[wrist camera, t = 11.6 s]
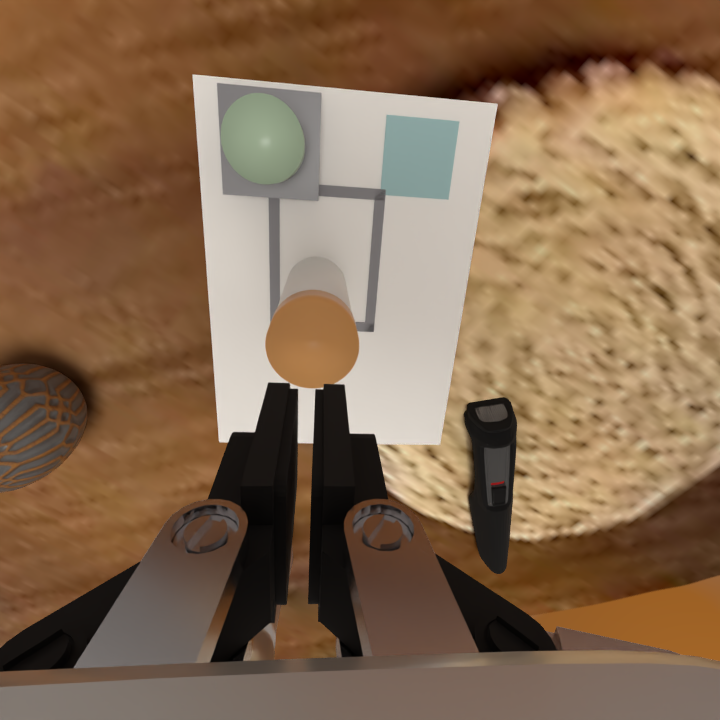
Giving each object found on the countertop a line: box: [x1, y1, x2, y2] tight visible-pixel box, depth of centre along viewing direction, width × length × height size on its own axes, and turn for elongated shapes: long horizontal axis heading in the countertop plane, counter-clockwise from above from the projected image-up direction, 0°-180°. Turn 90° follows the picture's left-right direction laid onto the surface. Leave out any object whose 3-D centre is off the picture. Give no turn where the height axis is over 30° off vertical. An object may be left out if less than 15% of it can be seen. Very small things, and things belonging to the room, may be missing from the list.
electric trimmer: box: [464, 397, 517, 574], centre depth 33 cm, size 4×15×3 cm, turn 7°
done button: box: [221, 93, 305, 184], centre depth 20 cm, size 4×4×2 cm
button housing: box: [217, 83, 322, 201], centre depth 22 cm, size 5×5×2 cm
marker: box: [265, 257, 359, 388], centre depth 21 cm, size 4×4×10 cm
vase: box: [0, 364, 87, 493], centre depth 24 cm, size 7×7×9 cm
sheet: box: [192, 74, 498, 445], centre depth 27 cm, size 16×22×1 cm
